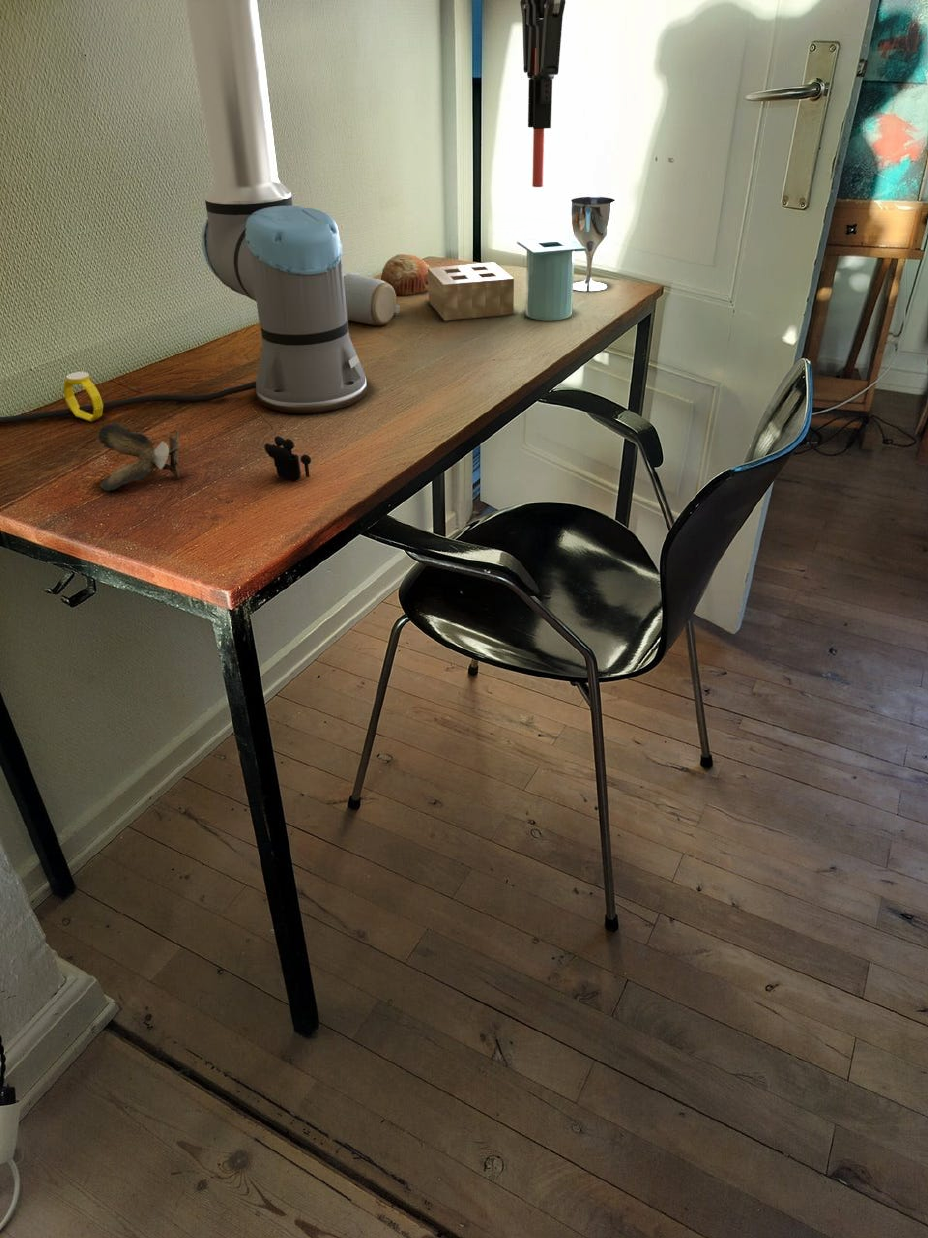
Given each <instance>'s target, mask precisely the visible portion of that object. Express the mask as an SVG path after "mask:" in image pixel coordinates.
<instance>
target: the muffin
mask: <svg viewBox="0 0 928 1238" xmlns="http://www.w3.org/2000/svg"><path fill="white" fill-rule="evenodd" d="M428 268H431V267H430V265H429V264H428V263H427V262H425V260H423V259H422V258H420V257H417V256H416V255H414V254H409V253H398V254H396V255H394V256H392V257H391V258H389V259H388V260H387V261H386V263H385V264H384V266H383V267H382V270H381V275H380V280H382V281H384V282H386V283H388V284H390V285H391V286H392V287H393V289H394V291H395V294H396V296H407V295H417V294H422V293H425V292H429V291H428Z"/></svg>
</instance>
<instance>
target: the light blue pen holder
mask: <svg viewBox="0 0 928 1238" xmlns="http://www.w3.org/2000/svg"><path fill="white" fill-rule="evenodd" d="M541 246H543V247H544V248H545V247H557V246H559V245H558V244H552V245H541ZM575 256H576V251H575V252H563V253H551V254H539V255H533V254H532V253H530V252H529V251H527V250H526V267H525V269H526V271H525V316H526V317H527V318H529V319H532V320H536V321H547V322H548V321H550V322H551V321H552V322H553V321H561V320H565V319H568V318H570V317H571V316H572V314H573V300H574V299H573V297H574V290H573V283H574V279H575Z"/></svg>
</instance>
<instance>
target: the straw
mask: <svg viewBox="0 0 928 1238" xmlns="http://www.w3.org/2000/svg"><path fill="white" fill-rule="evenodd" d="M535 75H536V48H535ZM532 129H533V128H532ZM532 131H533V134H532V135H533V136H532V145H533V146H532V181H531V182H532V184H531V185H532V188H543V187H544V186H545V185H544V184H545V182H544V181H545V180H544V179H545V145H546V144H545V140H546V139H545V138H546V128H545V129H533V130H532Z"/></svg>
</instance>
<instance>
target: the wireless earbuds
mask: <svg viewBox="0 0 928 1238" xmlns="http://www.w3.org/2000/svg"><path fill="white" fill-rule="evenodd" d="M274 443H275V444H271V443H268V442H267V443H265V444H264V451H265V453H266V454H267V455H268V456H269V457H270V458H271V459H273V463H274V467H275V470H276V474H277V476H278V477H280V478H282V479H285V480H288V481H292V482H297V481H299V480H300V479H301V476H302V474H301V466H300V462H301V464H303V465H304V473H305V478H309V477H310V476H311V475H310V468H309V465H310V464H311V463H312V458H311V457H310V456H309V455H308V454H302V455H301V457H300V459H299V455H298V454H295V453H293V451H292V450H293V449H294V448H295V443H294V441H292V439H289V438H287V439H284V438H283V437H281V436H278V435H277V436H275V437H274Z"/></svg>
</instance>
